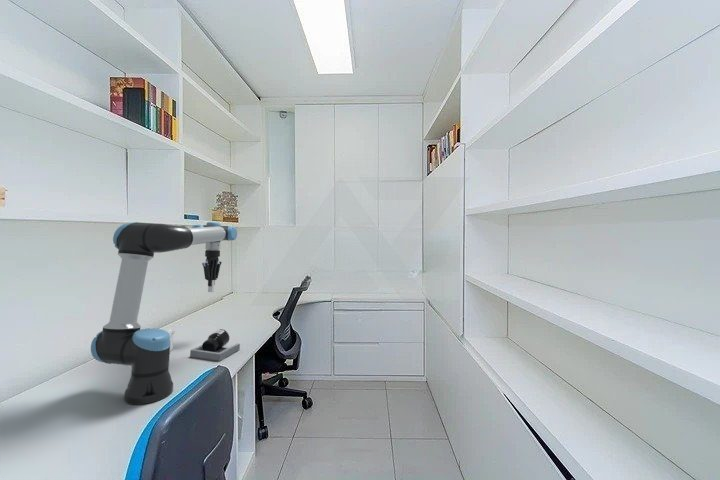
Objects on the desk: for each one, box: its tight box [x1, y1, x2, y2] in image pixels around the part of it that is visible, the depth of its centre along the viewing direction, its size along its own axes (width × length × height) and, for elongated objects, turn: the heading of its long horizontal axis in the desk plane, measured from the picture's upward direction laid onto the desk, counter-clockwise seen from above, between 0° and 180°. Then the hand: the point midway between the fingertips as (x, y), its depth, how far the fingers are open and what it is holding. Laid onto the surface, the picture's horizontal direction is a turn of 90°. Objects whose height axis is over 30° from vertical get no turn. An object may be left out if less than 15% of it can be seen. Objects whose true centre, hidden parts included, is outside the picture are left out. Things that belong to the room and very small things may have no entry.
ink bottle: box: [201, 328, 230, 352], centre depth 161 cm, size 10×9×12 cm
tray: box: [189, 342, 241, 363], centre depth 157 cm, size 16×16×4 cm
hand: (210, 291), depth 173 cm, fingers closed
